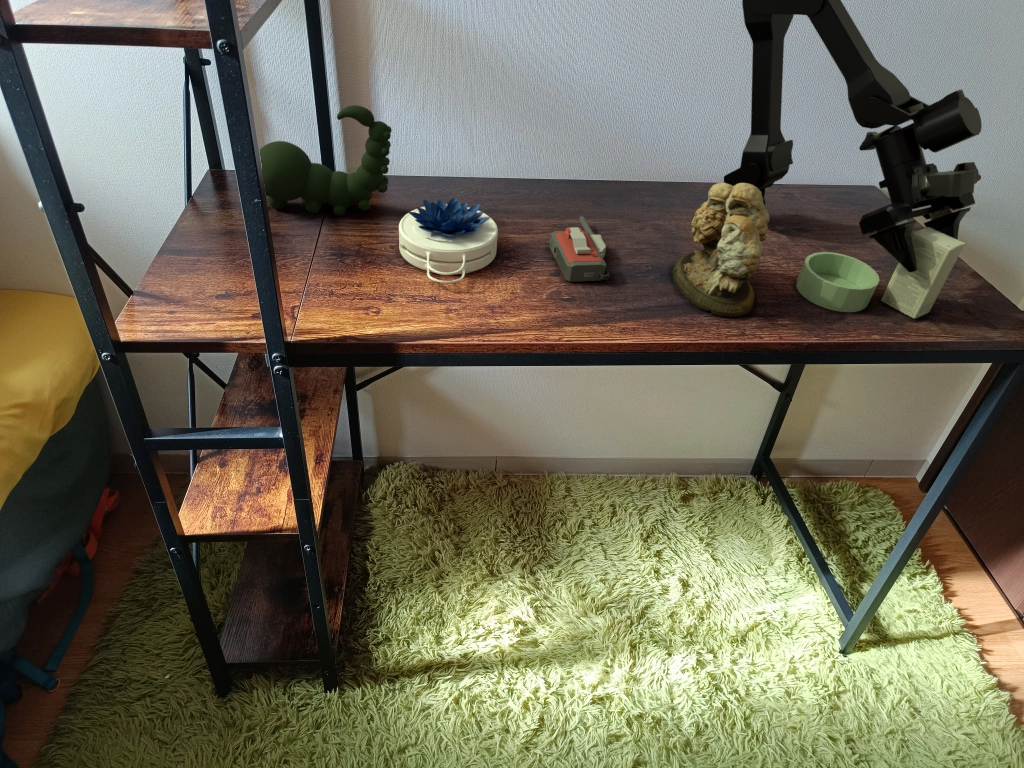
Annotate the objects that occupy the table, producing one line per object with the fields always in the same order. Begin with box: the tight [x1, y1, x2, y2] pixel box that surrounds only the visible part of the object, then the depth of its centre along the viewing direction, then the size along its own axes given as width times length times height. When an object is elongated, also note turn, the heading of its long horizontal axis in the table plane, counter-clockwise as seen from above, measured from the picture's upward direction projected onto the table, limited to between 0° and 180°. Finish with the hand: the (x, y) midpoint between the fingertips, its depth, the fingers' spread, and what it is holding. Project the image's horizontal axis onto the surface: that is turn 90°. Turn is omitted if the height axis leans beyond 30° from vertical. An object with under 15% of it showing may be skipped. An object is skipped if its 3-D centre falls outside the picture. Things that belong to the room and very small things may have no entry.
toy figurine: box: [259, 104, 393, 217], centre depth 114 cm, size 9×19×25 cm
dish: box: [795, 251, 880, 313], centre depth 110 cm, size 11×11×4 cm
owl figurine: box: [672, 182, 770, 318], centre depth 104 cm, size 18×12×17 cm, turn 11°
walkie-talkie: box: [549, 215, 611, 283], centre depth 113 cm, size 9×4×20 cm
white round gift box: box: [398, 197, 499, 284], centre depth 108 cm, size 7×16×20 cm
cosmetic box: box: [880, 226, 966, 320], centre depth 106 cm, size 6×4×12 cm
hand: (933, 266), depth 104 cm, fingers open, 9 cm apart
